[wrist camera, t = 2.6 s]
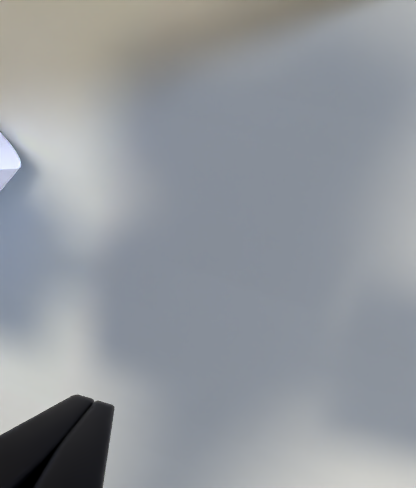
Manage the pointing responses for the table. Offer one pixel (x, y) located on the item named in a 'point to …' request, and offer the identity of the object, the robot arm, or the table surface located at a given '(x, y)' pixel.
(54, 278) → the table surface
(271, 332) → the table surface
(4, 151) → the charger
